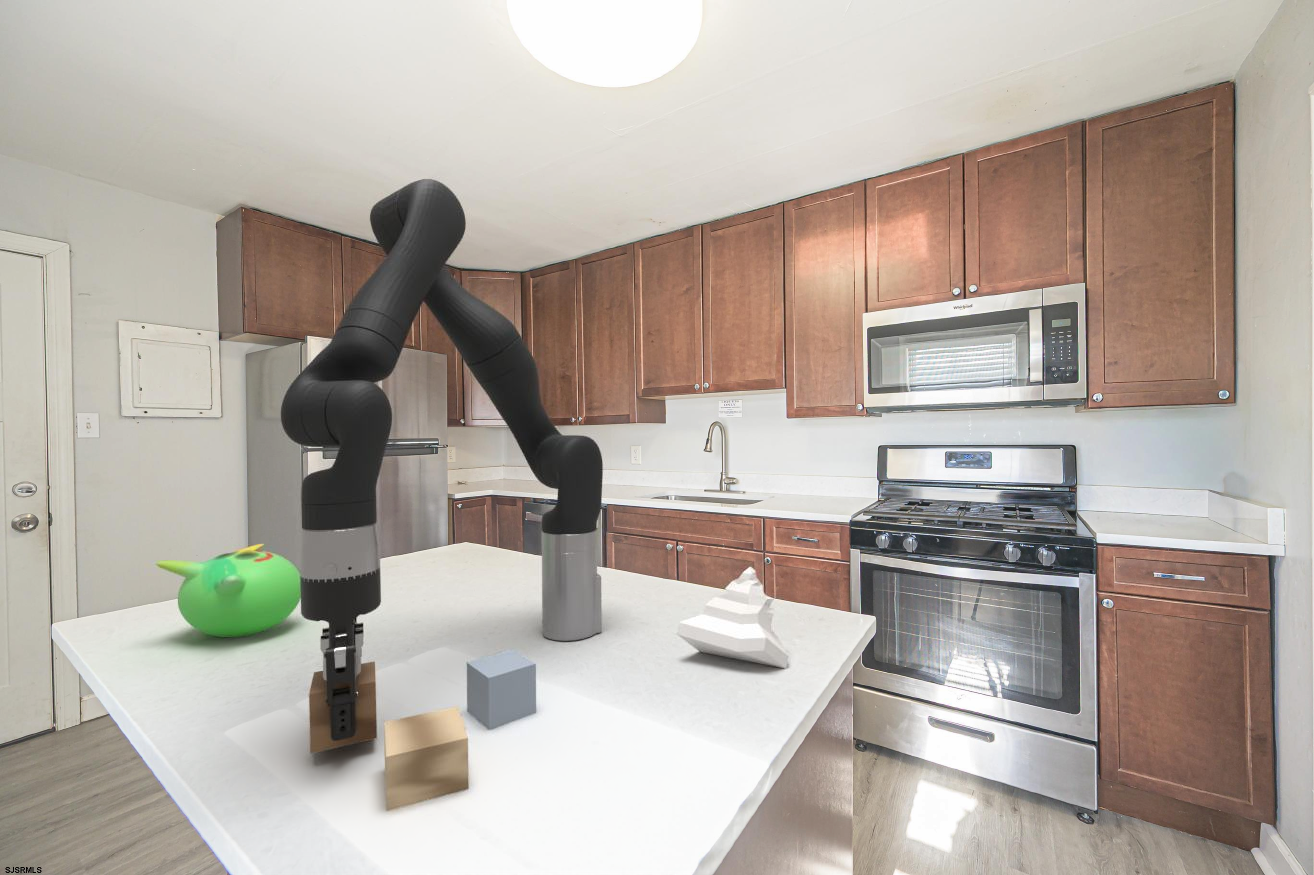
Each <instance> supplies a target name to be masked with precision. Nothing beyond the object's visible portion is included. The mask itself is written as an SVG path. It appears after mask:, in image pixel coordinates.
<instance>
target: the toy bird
mask: <svg viewBox="0 0 1314 875" xmlns="http://www.w3.org/2000/svg"><path fill="white" fill-rule="evenodd" d="M264 545H265V543H258V544H254V545H251V546H248V547H245V548H242V549H239V550H236V551H233V552H227V553H222V554H220V555H218V556H215V557H213V558H210V559H207V560H206V561H204V562H202V561H187V560H159V561H157V562H156V563H155V565H156V566H157V567H159V568H160V569H162V570H165V571H167V572H171V573H173V574H175V575H178V576H179V577H180V576H181V577H184V579H183V581H182V584H181V586H180V587H179V590H178V593H177V606H178V609H179V612H180V614H181V615H182V617H183V618H184V620H185V621H186V622H187V623H188V625H190V626H191V627H192V628H194V629H196V630H197V631H199V632H202V633H204V634H206V635H210V636H215V637H221V638H237V637H246V636H250V635H255V634H258V633H262V632H264V631H266V630H269V629H272V628H273V627H275V626H277V625H279V624H280V623H282V622H283V621H284V620H286V619H287V618H288V617H289V616H290V615H291V614H292V613H293V612H294V610H295V609H296V608H297V607H298V604H299V602H301V589H300V571H299V570H298V569H297V567H296V566H295V565H294V564H292V562H291V561H289V559H286V558H285V557H283V556H281V555H279V554H276V553H272V552H269V551H265V550H264V551H263V550H259V549H260V548H262V547H263V546H264Z"/></svg>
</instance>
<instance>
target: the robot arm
mask: <svg viewBox="0 0 1314 875" xmlns="http://www.w3.org/2000/svg"><path fill="white" fill-rule="evenodd" d="M369 213H370V214H369V221H370V222H369V223H370V225H371V230H372V233H373V235H374V237H375V240H376V241H377V243H378V244H379V246H380V248H381V249H382V250H383V252H384V254H385V255H386V257H385V259H384V260H383V261H382V262H381V264H380V265H379V266H378V267H377V268H376V269H375V270H374V272H372V274H371V275H370V276H369V278H368V279H366V281H365V282H364V283H363V284H362V285H361V287H360V288H359V289H358V291H357V292H356V294H355V295H354V296H353V298H352V299H351V301H350V303H348V305H347V308H346V309H345V312H344V313H343V315H342V318H341V319H340V321H339V324H338V326H337V328H336V330H335V332H334V333H333V336H332V339H331V341H330V342H329V343H328V345H326V347H324V348H323V349H322V350H321V351H320V352H319V353H318V354H317V355H315V357H314V358H313V359H312V360H311V362H310V363H309V364H308V365H307V366H306V367H305V368H304V369H303V370H302V371H301V372H300V373H299V375H297V377H296V378H295V379H294V380H293V381H292V383H291V384H290V385H289V387H288V389H287V391H286V392H285V394H284V396H283V399H282V403H281V408H280V422H281V425H282V430H283V431H284V432H285V434H286V435H287V436H288V438H289V439H290V440H291V441H293V442H294V443H296V444H298V445H300V446H305V447H309V448H328V447H329V448H330V447H331V448H332V447H333V448H335V447H336V448H338V447H339V448H338V451H337V454H336V457H335V460H334V462H333V463H332V466H331V467H328V468H325V469H321V470H317V471H314V472H311V473H309V474H308V475H306V476H305V477H304V478H303V480H302V484H301V496H300V498H301V500H300V501H301V504H300V505H301V528H302V529H301V536H300V537H301V539H300V545H299V573H300V589H301V599H300V614H301V616H302V617H303V618H304V619H305V620H308V621H312V622H320V621H322V622H326V623H328V627H323V628H322V633H321V635H320V646H319V647H320V651H321V653H322V656H323V657H322V671H323V678H324V680H325V681H327V698H326V703H327V706H328V707H330V713H331V739H332V740H333V741H338V740H342V739H347V738H351V737H353V736H354V735H355V733H356V716H355V701H356V697H357V696H358V691H356V677H357V676H359V675H360V673H361V664H362V656H363V655H362V654H363V653H362V650H363V649H362V647H364V636H365V635H364V632H365V631H364V622H357V620H358V619H357V618H358V617H359V616H361V615H362V616H363V615H367V614H369V613H372V612H374V611H375V610H376V609H378V608H379V607H380V605H381V603H382V587H381V586H382V585H381V581H382V580H381V544H380V536H379V531H378V523H377V522H378V521H377V517H378V516H377V515H378V514H377V513H378V512H377V511H378V510H377V485H378V479H379V475H380V472H381V468H382V463H383V460H384V456H385V452H386V448H387V445H388V442H389V438H390V435H391V430H392V425H393V411H392V406H391V402H390V400H389V398H388V395H387V394H386V392H384V390H383V389H382V388H381V387H380V386H379V385H378V384H376V383H379V382H381V381H384V380H386V379H388V378H389V377H390V376H391V374H392V373H394V370H395V368H396V366H397V364H398V361H399V358H400V356H401V353H402V351H403V348H404V346H405V344H406V341H407V339H408V335H409V333H410V329H411V328H412V326H413V323H414V321H415V319H416V317H417V315H418V312H419V311H420V310H421V309H420V308H421V307H422V304H423V303H424V304H425V306H426V307H427V308H428V310H429V311H430V312H431V313H432V315H433V316H434V318H435V319H436V321H437V322H438V323H439V326H441V328H442V329H443V331H444V332H445V333H446V335H447V336H448V337H449V339H450V341H451V342H452V343H453V345H454V347H455V348H456V350H457V352H458V353H459V354H460V356H461V358H462V360H463V361H464V363H465V364H466V366H467V368H468V369H469V371H470V372H471V374H472V376H473V377H474V379H475V380H476V381H477V383H478V384H479V385H480V387H481V388H482V390H483V391H484V392H485V394H486V395H487V397H488V398H489V399H490V401H491V403H492V404H493V406H494V407H495V408H496V411H497V412H498V413H499V415H500V417H501V419H502V420H503V421H504V422H505V424H506V425H507V427H508V428H509V430H510V431H511V434H512V435H513V437H514V439H515V441H516V443H517V446H518V447H519V449H520V450H521V453H522V455H523V456H524V458H525V460H526V462H527V464H528V466H529V469H530V470H531V472H532V474H534V476H535V477H536V479H537V481H539V482H540V483H541V484H542V485H543V486H546V487H547V488H550V489H555V490H557V498H556V499H557V501H556V504H555V506H554V507H553V508H552V509H551V510H549V511H546V512H544V513H543V514H542V516H541V601H542V602H541V603H542V604H541V605H542V606H541V608H542V609H541V610H542V611H541V624H542V630H541V631H542V635H543V636H544V637H545V638H547V639H548V640H549V639H550V640H554V641H561V642H562V641H565V642H566V641H579V640H582V639H588V638H589V637H591V636H594V635H596V634H599V633H602V629H603V628H602V625H603V624H602V622H603V621H602V618H603V617H602V616H603V615H602V605H603V604H602V576H601V575H600V574H599V573H598V547H597V546H598V538H597V537H598V534H597V533H598V525H597V524H598V518H599V516H600V513H601V511H602V498H603V496H602V495H603V476H604V475H603V472H604V464H603V457H602V456H603V455H602V452H601V450H600V446H599V445H598V443H597V442H596V441H595V440H594V439H592V438H591V437H590V436H586V435H578V434H575V435H573V434H570V435H567V434H565V435H564V434H561V432H560V431H559V430H558V429H557V427H556V426H555V424H554V423H553V422H552V420H551V418H550V417H549V415H548V414H547V411H546V410H545V408H544V405H543V403H542V397H541V392H540V390H541V388H540V381H539V371H538V368H537V363H536V360H535V358H534V357H533V355H532V352H531V351H530V349H529V347H528V346H527V344H526V343H525V341H524V339H523V338H522V336H521V334H520V332H519V331H518V329H517V327H516V326H515V325H514V323H513V322H511V320H510V319H508V318H507V317H506V316H504V315H503V314H502V312H499V311H498V310H497V309H495V308H494V307H492V306H490V305H489V304H487V303H486V302H484V301H483V300H481V299H480V298H478V297H477V296H475V295H474V294H473V293H471V292H469V291H468V290H467V289H466V288H464V287H463V286H462V285H461V284H460V282H458V280H457V279H456V278H455V277H454V276H453V274H452V273H451V272H450V270H449V269H448V267H447V266H446V264H447V262H448V260H449V259H450V257H451V256H452V255H453V253H454V252H455V250H456V249H457V248H458V246H459V245H460V244H461V241H462V240H463V238H464V235H465V231H466V226H467V225H466V216H465V211H464V208H463V206H462V204H461V202H460V200H459V198H458V197H457V195H455V193H454V192H453V191H452V190H451V189H450V188H449V187H448V186H447V185H446V184H444V183H443V182H440V181H438V180H436V179H432V178H422V179H419V180H416V181H413V182H410V183H408V184H407V185H404V186H403V187H401V188H399V189H398V190H396V191H394V192H392V193H390V194H389V195H387V196H386V197H384V198H382V199H380V200H379V201H378V202H376V203H375V204H374V205H373V206H372V208H371V209H370V212H369ZM343 682H349V683H350V689H347V690H342V691H337V692H334V684H338V683H343Z"/></svg>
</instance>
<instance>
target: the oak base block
mask: <svg viewBox="0 0 1314 875" xmlns="http://www.w3.org/2000/svg"><path fill="white" fill-rule="evenodd" d="M384 780H385V782H386V783H385V805H386V806H385V807H386V808H385V809H386V812H387V811H391V810H395V809H399V808H402V807H406V806H409V805H414V804H417V802H418V803H422V802H424V800H425V801H428V800H427V799H429V800H432V798H433V799H436V798H439V797H444V796H447V794H448V795H450V794H451V795H452V794H454V793H458V792H459V793H460V792H463V791H465V790H469V736H468V733H467V730H466V727H465V724H464V721H463V718H462V714H461V712H460V708H459V706H454V707H449V708H444V709H439V710H433V711H429V712H426V713H420V714H415V715H411V716H405V717H402V718H395V719H392V720H387V721H384ZM435 797H436V798H435Z"/></svg>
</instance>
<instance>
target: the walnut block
mask: <svg viewBox="0 0 1314 875" xmlns="http://www.w3.org/2000/svg"><path fill="white" fill-rule="evenodd" d="M312 674H313V675H312V679H311V682H310V683H311V684H310V688H309V693H308V706H309V708H308V709H309V710H308V711H309V743H310V745H309V747H310V748H309V749H310V752H309V753H310V754H314V753H320V752H323V751H328V750H333V749H337V748H341V747H345V746H349V745H354V744H358V743H364V742H366V741H370V740H371V741H372V740H376V739H377V738H378V731H377V730H378V729H377V728H378V726H377V725H378V724H377V723H378V722H377V721H378V720H377V684H376V683H377V682H376V680H377V679H376V677H377V676H376V661H370V662H364V663H361V673H360V675H359V676H357V677H356V691H358V696H357V697H356V701H355V716H356V733H355V735H354V736H353V737H351V738H347V739H342V740H338V741H333V740H332V739H331V713H330V707H328V706H327V703H326V698H327V681H325V680H324V678H323V670H319V671H314V672H313V673H312ZM347 689H350V683H349V682H343V683H338V684H334V692H337V691H342V690H347Z"/></svg>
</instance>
